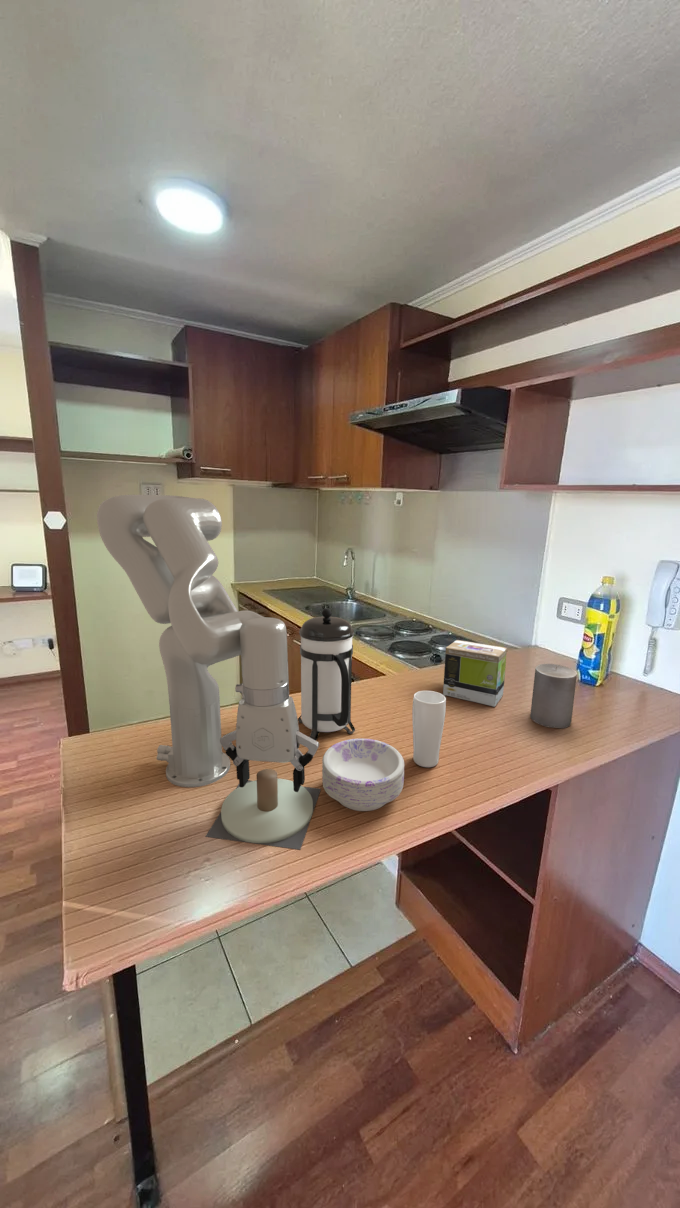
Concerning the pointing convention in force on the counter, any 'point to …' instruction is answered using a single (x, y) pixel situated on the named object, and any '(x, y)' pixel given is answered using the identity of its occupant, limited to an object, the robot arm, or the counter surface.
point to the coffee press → (326, 674)
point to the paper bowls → (363, 773)
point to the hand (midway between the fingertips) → (271, 785)
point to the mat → (291, 842)
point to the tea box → (474, 672)
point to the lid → (266, 809)
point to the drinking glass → (427, 726)
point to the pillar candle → (553, 695)
